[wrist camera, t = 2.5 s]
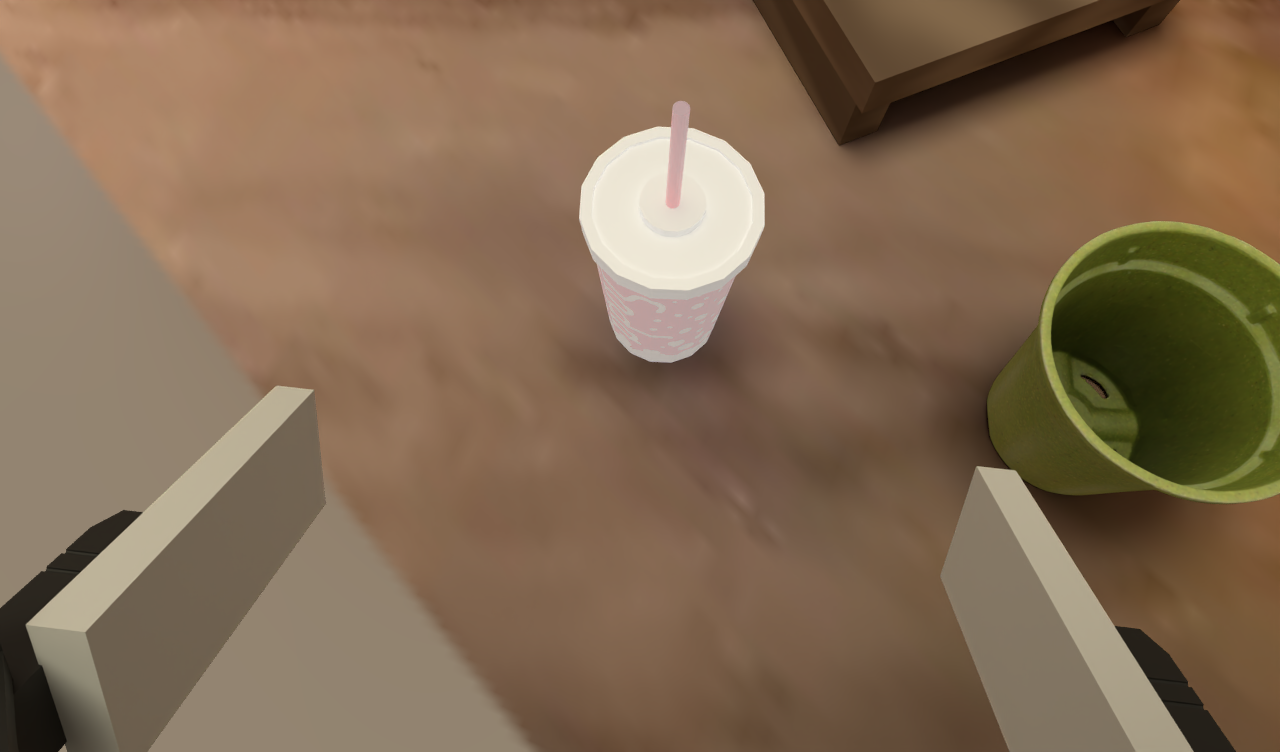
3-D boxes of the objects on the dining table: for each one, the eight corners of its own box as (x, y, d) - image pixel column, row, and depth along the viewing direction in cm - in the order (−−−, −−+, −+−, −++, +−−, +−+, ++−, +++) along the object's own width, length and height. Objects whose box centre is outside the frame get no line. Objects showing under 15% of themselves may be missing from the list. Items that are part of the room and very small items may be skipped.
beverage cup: (565, 291, 35) (525, 75, 22) (684, 226, 36) (714, -17, 23) (639, 406, 34) (643, 249, 20) (760, 335, 35) (841, 141, 21)
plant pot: (1082, 590, 31) (1243, 570, 23) (896, 422, 33) (983, 349, 25) (1214, 427, 34) (1405, 356, 25) (1032, 279, 36) (1153, 169, 27)
